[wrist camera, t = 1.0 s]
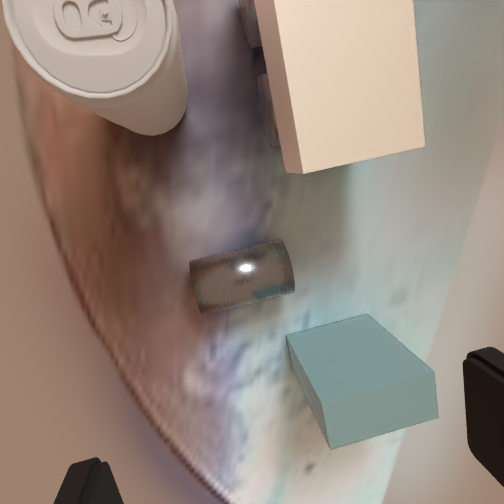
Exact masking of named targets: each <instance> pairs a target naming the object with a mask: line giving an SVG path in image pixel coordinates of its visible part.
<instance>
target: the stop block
mask: <svg viewBox="0 0 504 504" xmlns="http://www.w3.org/2000/svg"><path fill="white" fill-rule="evenodd" d="M286 337H287V342H288V347H289V352H290V357H291V362H292V366H293V371H294V373H295V375H296V377H297V379H298V381H299V384H300V386H301V388H302V390H303V392H304V394H305V396H306V399H307V401H308V403H309V405H310V407H311V409H312V411H313V414H314V416H315V418H316V420H317V422H318V424H319V426H320V429H321V431H322V433H323V435H324V437H325V439H326V441H327V443H328V446H329V448H330V450H332V449H335V448H339V447H342V446H345V445H349V444H352V443H355V442H359V441H362V440H365V439H369V438H372V437H375V436H379V435H382V434H385V433H389V432H392V431H396V430H399V429H402V428H406V427H409V426H412V425H416V424H419V423H422V422H426V421H429V420H432V419H435V418H438V406H437V395H436V384H435V372H434V371H433V370H432V369H431V368H430V367H429V366H427V365H426V364H425V363H424V362H423V361H422V360H420V359H419V358H418V357H417V356H416V355H415V354H413V353H412V352H411V351H410V350H409V349H408V348H407V347H405V346H404V345H403V344H402V343H401V342H400V341H398V340H397V339H396V338H395V337H394V336H393V335H392V334H390V333H389V332H388V331H387V330H386V329H385V328H383V327H382V326H381V325H380V324H379V323H378V322H377V321H375V320H374V319H373V318H372V317H371V316H370V315H368V314H365V315H361V316H357V317H353V318H350V319H346V320H342V321H338V322H335V323H331V324H327V325H323V326H319V327H316V328H312V329H308V330H304V331H301V332H297V333H293V334H289V335H286Z"/></svg>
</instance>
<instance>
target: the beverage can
mask: <svg viewBox="0 0 504 504" xmlns="http://www.w3.org/2000/svg"><path fill="white" fill-rule="evenodd" d="M2 5H3V12H4V19H5V23H6V25H7V28H8V30H9V33H10V35H11V38H12V40H13V43H14V45H15V46H16V48H17V49H18V51H19V52H20V54H21V55H22V56H23V58H24V59H25V61H26V62H27V64H28V65H29V66H30V67H31V68H32V70H33V71H34V72H35V74H36V75H37V76H38V77H39V78H41V79H42V80H43V81H44V82H45V83H46V84H47V85H48V86H49V87H50V88H51V89H53V90H54V91H55V92H57V93H59V94H60V95H62V96H64V97H66V98H67V99H69V100H71V101H73V102H74V103H76V104H78V105H80V106H82V107H84V108H86V109H88V110H90V111H92V112H94V113H96V114H97V115H99V116H101V117H103V118H105V119H107V120H109V121H111V122H113V123H116V124H118V125H121V126H123V127H125V128H127V129H129V130H131V131H133V132H136V133H139V134H142V135H151V136H155V135H159V134H163V133H166V132H167V131H169V130H171V129H172V128H174V127H175V126H176V125H177V124H178V122H179V121H180V120H181V118H182V116H183V115H184V113H185V111H186V106H187V101H188V92H187V82H186V75H185V68H184V61H183V53H182V46H181V39H180V32H179V25H178V18H177V14H176V11H175V7H174V4H173V0H2Z"/></svg>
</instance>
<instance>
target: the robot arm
mask: <svg viewBox="0 0 504 504" xmlns="http://www.w3.org/2000/svg"><path fill="white" fill-rule="evenodd" d="M463 377H464V393H465V408H466V422H467V439H468V445H469V448H470V450H471V452H472V453H473V455H474V456H475V458H476V459H477V460H478V461H479V462H480V463H481V464H482V465H483V466H484V467H485V468H486V469H487V470H488V471H489V472H490V473H491V474H492V475H493V476H494V477H495V478H496V479H497V481H498V482H499V483H500V484H501V485H502V486H503V487H504V353H502V352H500V351H499V350H497V349H496V348H493V347H487V348H483V349H479V350H476V351H472V352H470V353H468V354H467V358H466V360H464V362H463ZM54 504H124V503H123V501H122V498H121V495H120V493H119V490H118V487H117V485H116V482H115V479H114V477H113V474H112V472H111V469H110V466H109V464H108V463H107V462H101V461H100V459H99V458H97V457H96V458H91V459H88V460H85V461H81V462H78V463H74V464H72V465H71V466H70V467H69V469H68V472H67V474H66V476H65V478H64V481H63V483H62V485H61V488H60V490H59V492H58V494H57V497H56V499H55V501H54Z"/></svg>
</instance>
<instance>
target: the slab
mask: <svg viewBox="0 0 504 504" xmlns="http://www.w3.org/2000/svg"><path fill="white" fill-rule="evenodd" d="M254 3H255V8H256V14H257V19H258V25H259V30H260V36H261V41H262V47H263V52H264V58H265V63H266V69H267V74H268V79H269V85H270V90H271V96H272V101H273V107H274V112H275V118H276V123H277V129H278V134H279V140H280V145H281V151H282V156H283V162H284V167H285V173H296V174H305V173H310V172H314V171H319V170H323V169H328V168H332V167H336V166H341V165H345V164H350V163H354V162H359V161H363V160H368V159H372V158H376V157H381V156H385V155H390V154H394V153H399V152H403V151H407V150H412V149H416V148H421V147H425V138H424V126H423V114H422V102H421V90H420V78H419V66H418V54H417V41H416V29H415V17H414V5H413V0H254Z"/></svg>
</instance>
